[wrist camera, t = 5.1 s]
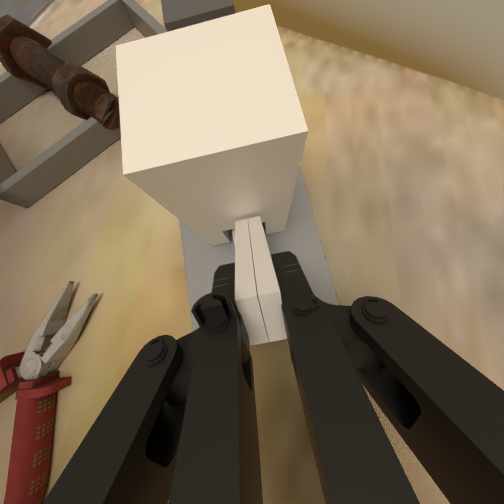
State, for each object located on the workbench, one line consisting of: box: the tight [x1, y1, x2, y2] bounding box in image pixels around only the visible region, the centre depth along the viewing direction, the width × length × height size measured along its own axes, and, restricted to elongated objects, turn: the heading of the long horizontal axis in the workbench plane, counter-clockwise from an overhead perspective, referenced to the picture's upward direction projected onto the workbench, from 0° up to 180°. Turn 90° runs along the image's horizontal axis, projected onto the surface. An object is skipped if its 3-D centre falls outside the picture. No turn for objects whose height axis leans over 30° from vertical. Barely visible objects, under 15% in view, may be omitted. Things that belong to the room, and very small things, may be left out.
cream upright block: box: [116, 4, 308, 246], centre depth 12 cm, size 6×6×11 cm
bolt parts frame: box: [0, 0, 167, 208], centre depth 22 cm, size 14×24×2 cm, turn 130°
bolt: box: [0, 15, 120, 130], centre depth 21 cm, size 6×5×15 cm
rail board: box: [161, 0, 338, 344], centre depth 15 cm, size 26×12×8 cm, turn 11°
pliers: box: [0, 281, 98, 504], centre depth 17 cm, size 12×20×3 cm, turn 157°
